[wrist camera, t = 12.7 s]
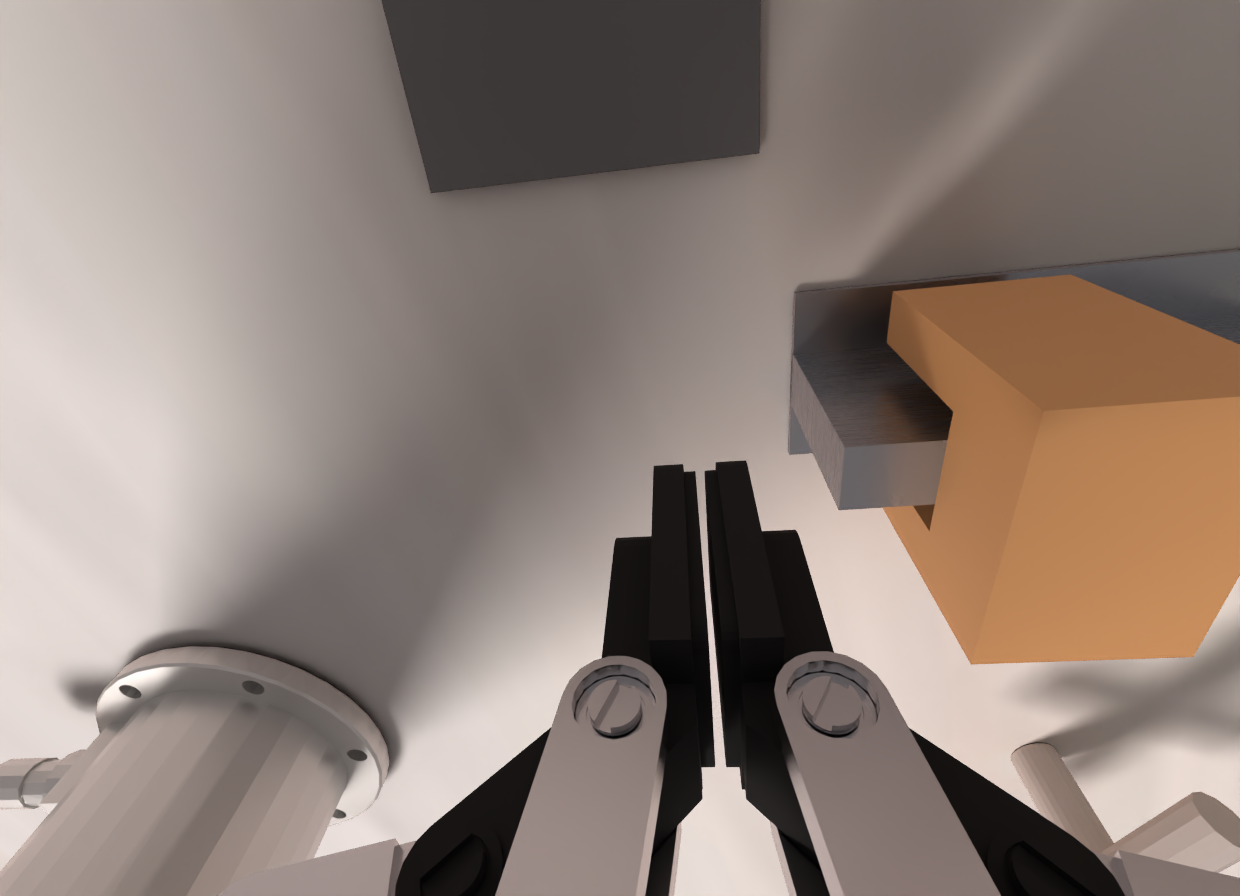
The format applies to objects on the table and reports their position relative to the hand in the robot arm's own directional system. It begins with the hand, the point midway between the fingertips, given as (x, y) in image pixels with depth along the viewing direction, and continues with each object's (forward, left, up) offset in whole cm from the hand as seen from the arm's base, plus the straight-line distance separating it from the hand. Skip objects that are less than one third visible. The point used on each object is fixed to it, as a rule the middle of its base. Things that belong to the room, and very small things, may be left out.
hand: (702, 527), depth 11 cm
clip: (+7, 0, -6) cm, 9 cm away
